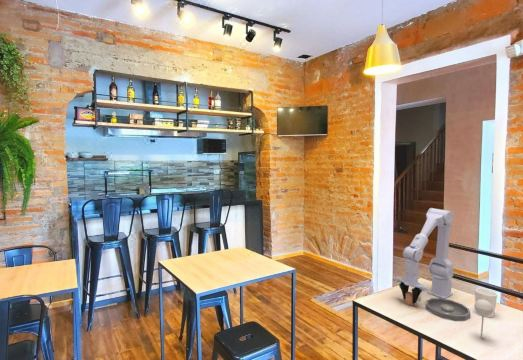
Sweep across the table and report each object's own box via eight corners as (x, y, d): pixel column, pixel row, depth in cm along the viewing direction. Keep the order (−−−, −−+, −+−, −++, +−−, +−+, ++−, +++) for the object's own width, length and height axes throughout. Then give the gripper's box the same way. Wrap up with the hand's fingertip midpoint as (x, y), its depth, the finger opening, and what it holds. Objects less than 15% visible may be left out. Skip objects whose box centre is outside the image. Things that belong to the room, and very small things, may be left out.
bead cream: (414, 297, 156) (415, 287, 156) (422, 300, 153) (422, 290, 152) (409, 298, 154) (410, 288, 153) (417, 302, 151) (418, 291, 150)
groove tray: (437, 299, 154) (438, 295, 154) (476, 313, 140) (477, 309, 140) (418, 307, 145) (418, 303, 144) (458, 324, 130) (458, 320, 130)
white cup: (496, 313, 141) (498, 292, 140) (494, 320, 135) (495, 297, 134) (475, 307, 146) (477, 286, 145) (472, 313, 140) (473, 291, 139)
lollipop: (491, 344, 117) (494, 305, 116) (472, 339, 120) (475, 301, 119) (490, 336, 122) (492, 299, 121) (471, 331, 125) (474, 295, 124)
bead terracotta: (408, 301, 151) (408, 291, 151) (416, 304, 148) (416, 294, 148) (403, 303, 149) (403, 292, 149) (411, 306, 146) (411, 296, 145)
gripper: (392, 269, 151) (391, 296, 152) (421, 279, 139) (420, 309, 140) (401, 266, 155) (399, 293, 156) (430, 276, 143) (428, 305, 144)
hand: (409, 300), depth 149 cm, fingers closed on bead terracotta, 4 cm apart
